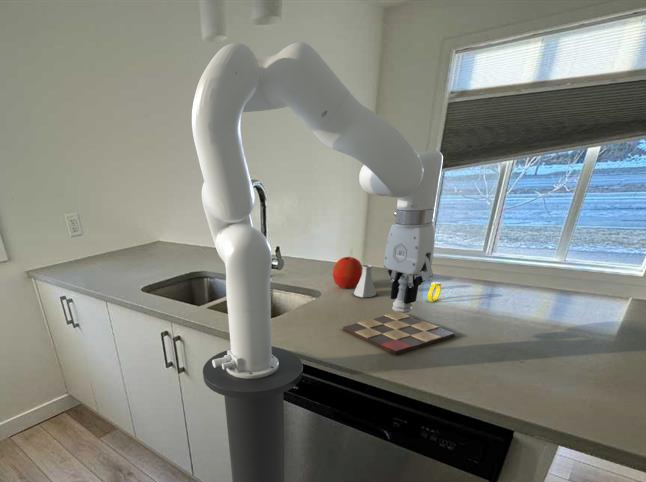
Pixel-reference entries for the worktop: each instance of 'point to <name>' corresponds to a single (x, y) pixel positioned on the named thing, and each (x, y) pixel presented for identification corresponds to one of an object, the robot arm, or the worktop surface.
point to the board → (398, 332)
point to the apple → (347, 272)
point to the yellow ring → (431, 290)
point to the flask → (365, 283)
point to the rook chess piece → (402, 297)
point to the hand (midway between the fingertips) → (403, 299)
